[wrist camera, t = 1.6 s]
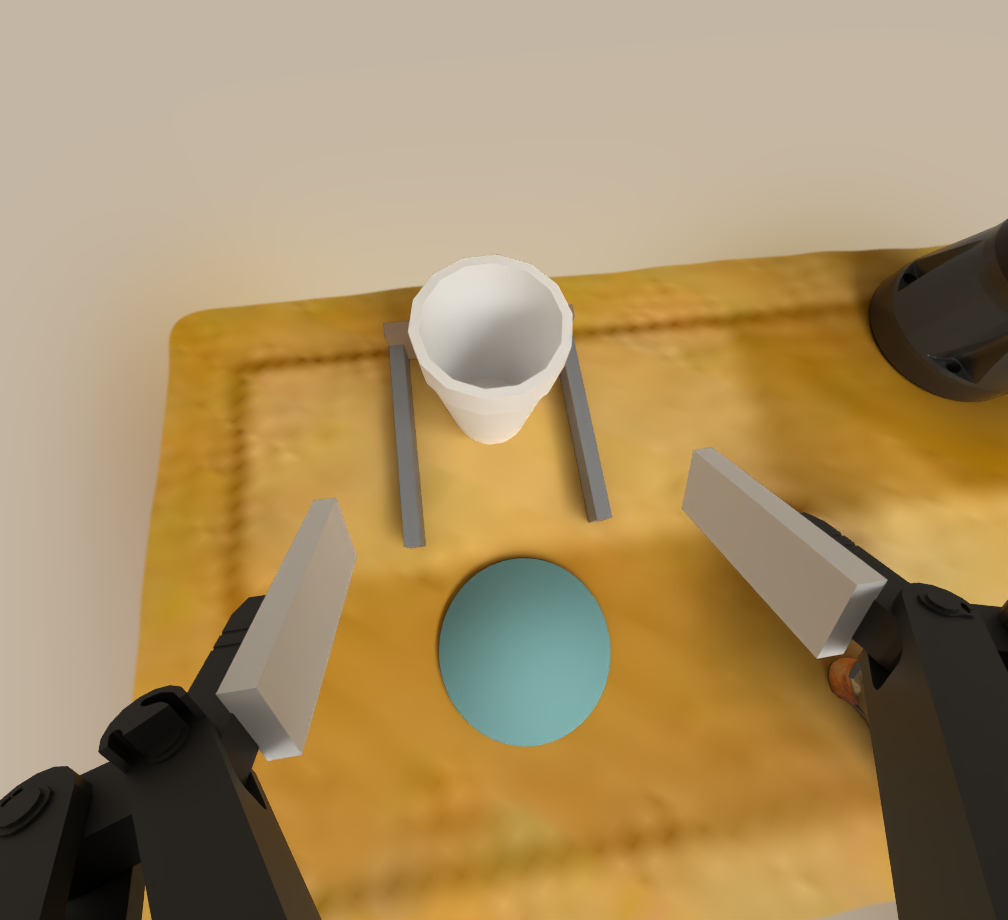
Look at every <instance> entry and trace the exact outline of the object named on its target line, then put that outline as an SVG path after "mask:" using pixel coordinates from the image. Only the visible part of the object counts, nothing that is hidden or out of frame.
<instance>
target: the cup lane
mask: <svg viewBox="0 0 1008 920" xmlns="http://www.w3.org/2000/svg"><path fill="white" fill-rule="evenodd" d="M568 306H569V308H570V310H571V312H572V314H573V318H572V323H573V320H574V317H575V316H574V311H573V307H572V304H570V305H568ZM409 322H410V321H402V322H392V323H384V336H385V338H386V341H387V343H388V345H389V353H390V366H391V379H392V392H393V405H394V419H395V432H396V445H397V458H398V471H399V484H400V498H401V511H402V524H403V537H404V547H407V548H416V547H423V546H426V544H425V532H424V521H423V510H422V499H421V488H420V477H419V466H418V455H417V443H416V432H415V421H414V410H413V399H412V388H411V377H410V366H409V359H417V357H416V354H415V351H414V348H413V345H412V343H411V340H410V337H409V334H408V328H409ZM559 375H560V380H561V385H562V390H563V395H564V400H565V405H566V410H567V415H568V420H569V425H570V430H571V435H572V440H573V445H574V450H575V455H576V460H577V465H578V470H579V475H580V480H581V485H582V490H583V495H584V500H585V505H586V510H587V515H588V520H589V523H590V522H597V521H603V520H606V519H608V518H611V517H612V514H611V509H610V505H609V500H608V495H607V491H606V486H605V482H604V477H603V472H602V468H601V463H600V458H599V454H598V449H597V445H596V440H595V435H594V431H593V426H592V421H591V417H590V412H589V408H588V403H587V398H586V394H585V389H584V384H583V380H582V375H581V371H580V366H579V361H578V357H577V352H576V347H575V343H574V338H573V334H572V347H571V349H570V352H569V355H568V357H567V360H566V362H565V365H564V367H563V369H562V371H561V372H560V374H559Z"/></svg>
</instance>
